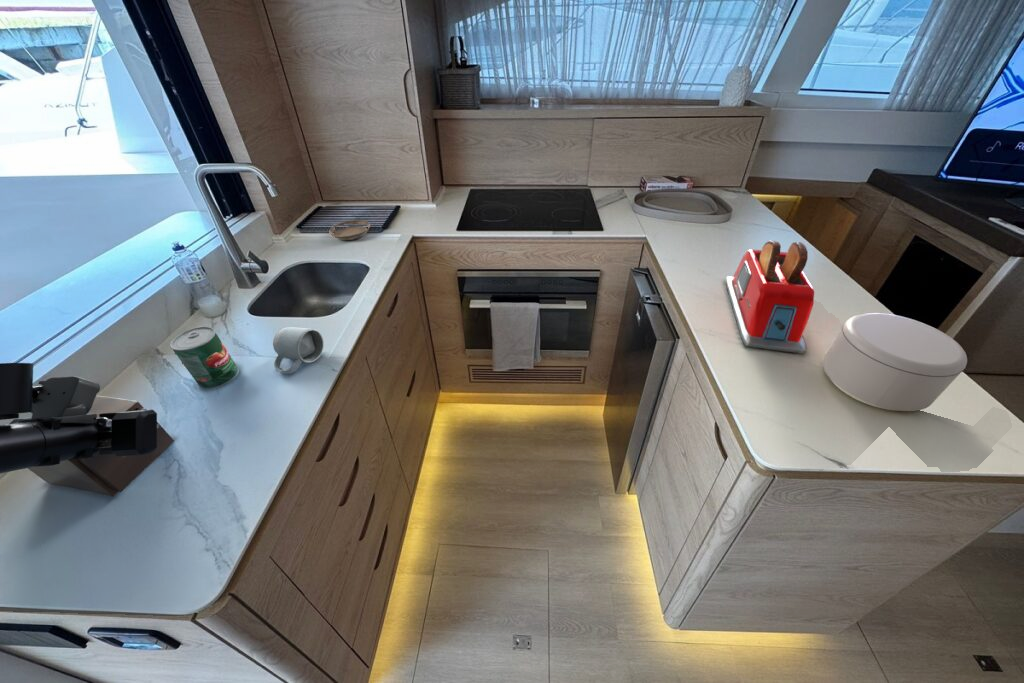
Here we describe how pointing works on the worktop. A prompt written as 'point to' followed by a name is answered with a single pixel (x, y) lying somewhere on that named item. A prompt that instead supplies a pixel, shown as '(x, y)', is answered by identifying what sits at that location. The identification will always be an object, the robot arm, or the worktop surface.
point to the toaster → (772, 297)
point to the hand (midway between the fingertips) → (137, 427)
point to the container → (893, 361)
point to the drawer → (125, 463)
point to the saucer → (350, 230)
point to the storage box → (75, 471)
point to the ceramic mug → (297, 347)
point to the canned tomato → (205, 357)
